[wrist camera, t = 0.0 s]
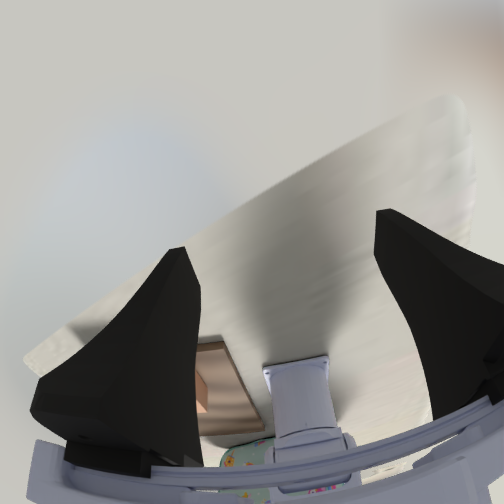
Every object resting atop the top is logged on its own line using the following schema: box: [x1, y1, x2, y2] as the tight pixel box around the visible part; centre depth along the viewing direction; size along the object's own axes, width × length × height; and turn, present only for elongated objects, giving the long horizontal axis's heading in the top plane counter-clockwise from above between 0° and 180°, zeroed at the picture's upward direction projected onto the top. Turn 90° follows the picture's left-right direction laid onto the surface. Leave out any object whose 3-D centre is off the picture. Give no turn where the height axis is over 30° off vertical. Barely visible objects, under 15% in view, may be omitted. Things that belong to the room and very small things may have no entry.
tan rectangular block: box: [195, 370, 208, 413], centre depth 31 cm, size 8×6×4 cm
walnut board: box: [195, 341, 265, 436], centre depth 39 cm, size 28×17×1 cm, turn 11°
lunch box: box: [218, 437, 344, 504], centre depth 45 cm, size 27×10×21 cm, turn 129°
